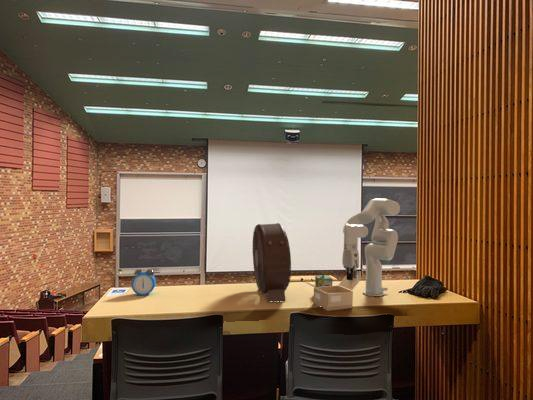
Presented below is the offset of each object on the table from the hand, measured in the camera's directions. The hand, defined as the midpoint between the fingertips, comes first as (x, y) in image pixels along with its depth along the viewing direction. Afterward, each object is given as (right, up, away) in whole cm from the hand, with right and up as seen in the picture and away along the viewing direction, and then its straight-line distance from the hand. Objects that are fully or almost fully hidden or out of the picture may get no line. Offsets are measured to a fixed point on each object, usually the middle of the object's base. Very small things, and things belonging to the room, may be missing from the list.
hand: (349, 279), depth 196 cm
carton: (-10, -13, -4) cm, 17 cm away
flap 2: (0, -2, 0) cm, 2 cm away
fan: (-45, -13, +16) cm, 49 cm away
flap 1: (-20, -2, -8) cm, 22 cm away
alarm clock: (-120, -12, +12) cm, 121 cm away
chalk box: (-12, -14, +16) cm, 24 cm away
